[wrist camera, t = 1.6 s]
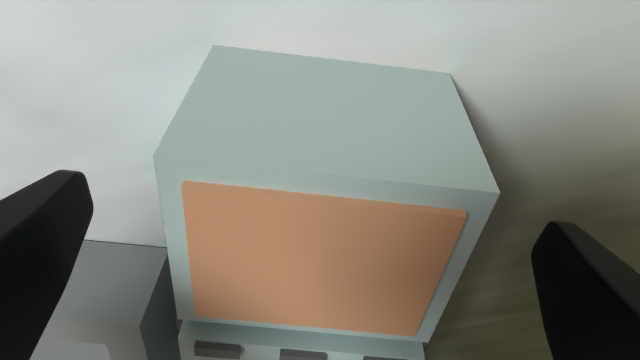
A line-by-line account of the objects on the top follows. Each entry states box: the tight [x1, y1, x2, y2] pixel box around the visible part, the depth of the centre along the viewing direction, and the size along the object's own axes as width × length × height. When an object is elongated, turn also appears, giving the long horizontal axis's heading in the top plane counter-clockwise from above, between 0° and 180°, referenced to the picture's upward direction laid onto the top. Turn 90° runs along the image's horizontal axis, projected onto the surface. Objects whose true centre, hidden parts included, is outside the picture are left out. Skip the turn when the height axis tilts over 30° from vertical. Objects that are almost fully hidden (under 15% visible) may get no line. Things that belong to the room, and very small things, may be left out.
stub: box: [153, 45, 500, 343], centre depth 9 cm, size 4×5×4 cm
